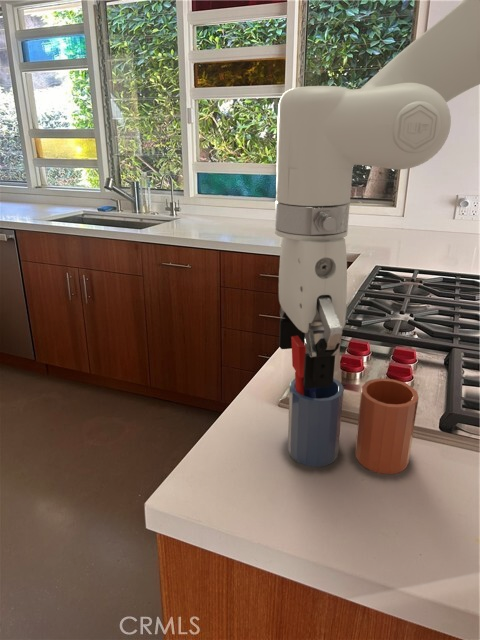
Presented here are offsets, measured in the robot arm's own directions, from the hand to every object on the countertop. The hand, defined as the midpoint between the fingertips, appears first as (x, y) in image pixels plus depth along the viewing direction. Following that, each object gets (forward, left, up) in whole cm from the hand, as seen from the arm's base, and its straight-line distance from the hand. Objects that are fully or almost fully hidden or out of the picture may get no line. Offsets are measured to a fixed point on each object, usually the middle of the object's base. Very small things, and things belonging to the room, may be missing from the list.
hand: (303, 365), depth 55 cm
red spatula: (0, 0, -13) cm, 13 cm away
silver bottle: (-8, -14, -13) cm, 21 cm away
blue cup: (-2, 0, -13) cm, 13 cm away
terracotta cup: (-10, +3, -13) cm, 17 cm away
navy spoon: (-3, 0, -13) cm, 13 cm away
